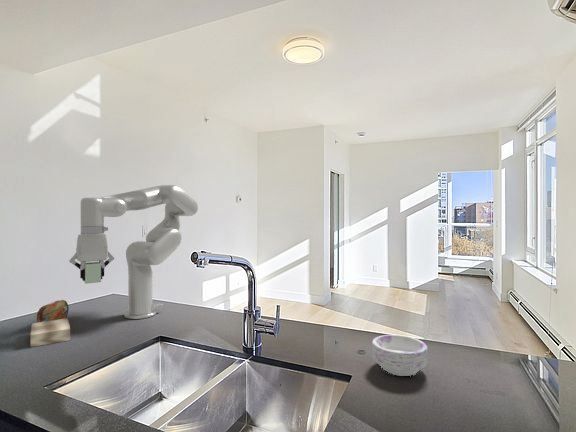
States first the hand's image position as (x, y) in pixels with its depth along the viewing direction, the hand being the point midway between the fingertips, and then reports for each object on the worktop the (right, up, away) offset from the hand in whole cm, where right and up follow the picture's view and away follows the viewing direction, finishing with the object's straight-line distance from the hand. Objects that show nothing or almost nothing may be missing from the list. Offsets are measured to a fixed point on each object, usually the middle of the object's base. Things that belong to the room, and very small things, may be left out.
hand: (92, 278), depth 129 cm
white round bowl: (+105, -21, -29) cm, 111 cm away
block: (0, -1, 0) cm, 1 cm away
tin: (-20, -19, +7) cm, 29 cm away
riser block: (-11, -19, -7) cm, 23 cm away
